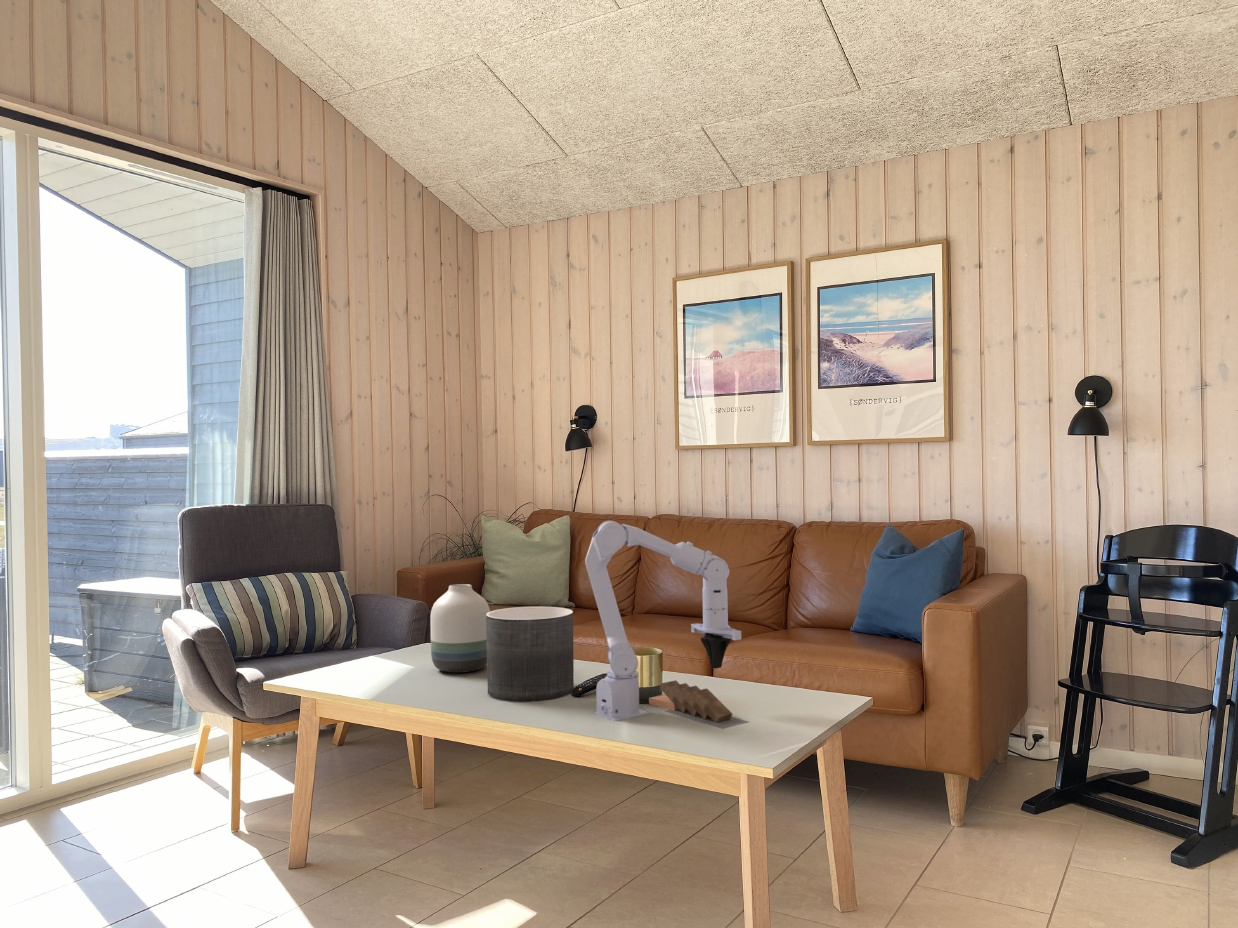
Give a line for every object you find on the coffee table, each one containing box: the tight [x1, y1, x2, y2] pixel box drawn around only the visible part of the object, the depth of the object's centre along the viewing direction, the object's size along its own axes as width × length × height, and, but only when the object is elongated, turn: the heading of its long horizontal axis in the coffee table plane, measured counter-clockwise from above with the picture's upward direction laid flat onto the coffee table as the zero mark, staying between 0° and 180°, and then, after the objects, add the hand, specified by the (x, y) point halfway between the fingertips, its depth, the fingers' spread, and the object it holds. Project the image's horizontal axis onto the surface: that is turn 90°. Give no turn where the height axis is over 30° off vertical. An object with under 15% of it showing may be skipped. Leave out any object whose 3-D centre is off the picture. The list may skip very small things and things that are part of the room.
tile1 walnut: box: [691, 688, 733, 723], centre depth 196 cm, size 4×2×9 cm
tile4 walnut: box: [659, 680, 689, 713], centre depth 205 cm, size 4×2×9 cm
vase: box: [430, 583, 491, 673], centre depth 253 cm, size 17×17×24 cm
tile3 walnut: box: [670, 682, 700, 717], centre depth 202 cm, size 4×2×9 cm
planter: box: [486, 606, 575, 703], centre depth 226 cm, size 22×22×20 cm
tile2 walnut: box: [680, 685, 710, 720], centre depth 199 cm, size 4×2×9 cm
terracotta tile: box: [648, 694, 679, 711], centre depth 208 cm, size 4×2×9 cm
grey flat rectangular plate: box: [664, 709, 750, 730], centre depth 198 cm, size 8×19×1 cm, turn 38°
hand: (716, 667), depth 204 cm, fingers closed
